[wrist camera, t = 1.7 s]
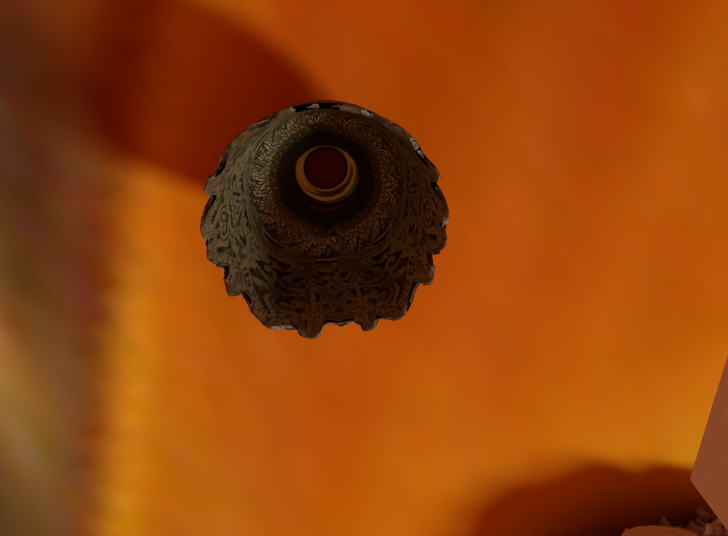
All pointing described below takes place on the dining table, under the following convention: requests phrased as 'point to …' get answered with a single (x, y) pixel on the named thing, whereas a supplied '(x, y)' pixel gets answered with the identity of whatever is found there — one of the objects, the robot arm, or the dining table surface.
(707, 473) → the robot arm
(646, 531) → the geode
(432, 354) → the dining table surface
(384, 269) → the brown rounded piece
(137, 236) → the dining table surface
